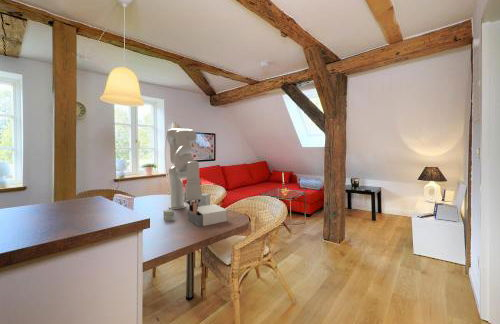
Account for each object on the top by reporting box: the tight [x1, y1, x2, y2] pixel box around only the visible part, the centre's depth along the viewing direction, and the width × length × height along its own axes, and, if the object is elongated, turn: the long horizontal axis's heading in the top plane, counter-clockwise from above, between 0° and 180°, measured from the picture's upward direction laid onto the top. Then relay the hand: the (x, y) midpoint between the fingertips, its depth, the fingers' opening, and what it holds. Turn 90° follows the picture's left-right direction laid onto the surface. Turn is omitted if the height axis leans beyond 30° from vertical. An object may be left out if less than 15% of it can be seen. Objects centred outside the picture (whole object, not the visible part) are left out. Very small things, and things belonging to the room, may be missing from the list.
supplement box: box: [198, 192, 211, 207], centre depth 174 cm, size 7×7×13 cm
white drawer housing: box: [197, 203, 228, 227], centre depth 157 cm, size 18×16×7 cm
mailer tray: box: [188, 200, 203, 227], centre depth 155 cm, size 16×19×13 cm
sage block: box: [163, 208, 174, 222], centre depth 157 cm, size 5×5×6 cm
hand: (193, 210), depth 150 cm, fingers closed on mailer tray, 2 cm apart
